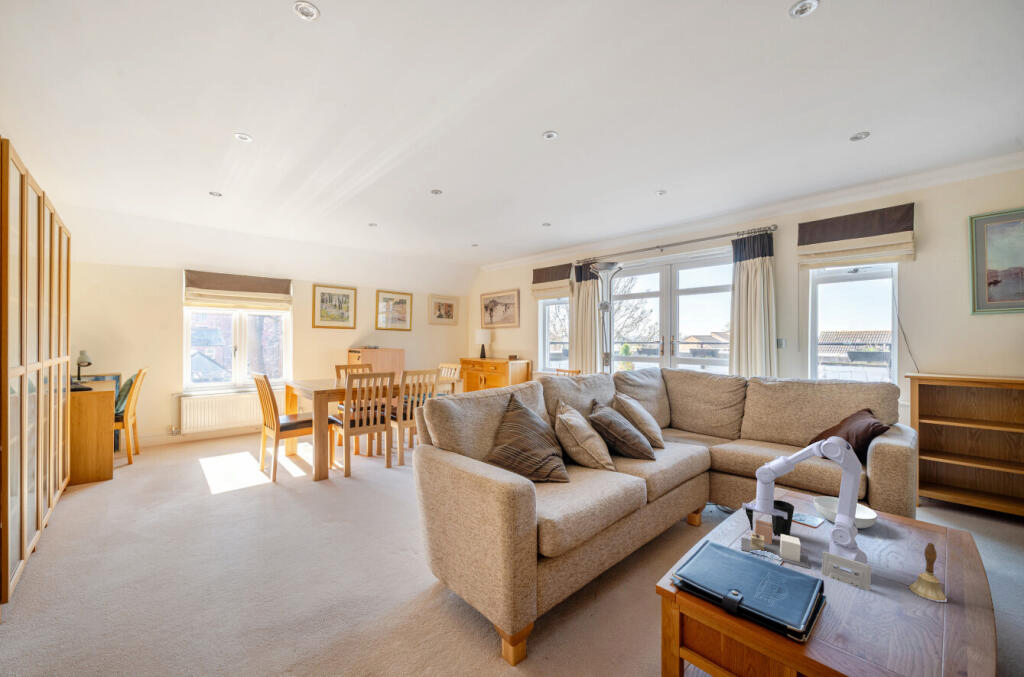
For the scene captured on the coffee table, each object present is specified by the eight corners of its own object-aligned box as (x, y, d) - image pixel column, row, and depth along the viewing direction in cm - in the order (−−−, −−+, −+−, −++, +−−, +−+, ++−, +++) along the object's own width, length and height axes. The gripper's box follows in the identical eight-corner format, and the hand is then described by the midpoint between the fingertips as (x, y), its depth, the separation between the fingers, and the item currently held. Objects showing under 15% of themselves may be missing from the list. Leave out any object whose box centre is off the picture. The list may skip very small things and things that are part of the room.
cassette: (821, 575, 131) (822, 552, 130) (821, 572, 132) (822, 550, 132) (870, 592, 123) (871, 567, 122) (870, 589, 124) (871, 565, 124)
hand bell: (953, 606, 117) (956, 553, 117) (915, 596, 121) (918, 545, 121) (940, 591, 124) (943, 541, 124) (904, 582, 128) (907, 533, 128)
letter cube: (763, 546, 146) (763, 535, 146) (763, 551, 143) (764, 540, 143) (750, 543, 148) (751, 532, 148) (750, 548, 145) (751, 537, 145)
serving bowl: (826, 529, 162) (826, 513, 162) (804, 507, 182) (805, 493, 182) (888, 539, 156) (889, 521, 156) (859, 515, 176) (860, 500, 176)
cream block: (797, 554, 142) (798, 538, 141) (799, 562, 137) (800, 545, 137) (779, 549, 144) (780, 533, 144) (780, 556, 140) (781, 540, 140)
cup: (797, 539, 153) (799, 508, 153) (777, 538, 153) (779, 508, 153) (784, 529, 161) (785, 500, 161) (765, 528, 161) (766, 499, 161)
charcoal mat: (805, 554, 142) (805, 553, 142) (809, 568, 134) (809, 567, 134) (741, 538, 153) (741, 537, 152) (741, 550, 144) (741, 549, 144)
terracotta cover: (771, 544, 149) (772, 528, 149) (755, 540, 152) (755, 524, 151) (770, 538, 153) (771, 522, 153) (754, 534, 156) (755, 519, 156)
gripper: (786, 498, 152) (785, 533, 152) (743, 489, 159) (741, 522, 160) (788, 504, 146) (786, 541, 146) (743, 495, 153) (741, 529, 153)
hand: (763, 532), depth 152 cm, fingers open, 7 cm apart
